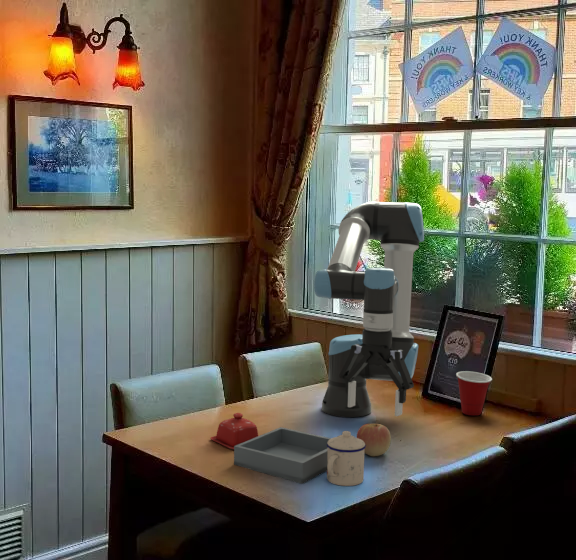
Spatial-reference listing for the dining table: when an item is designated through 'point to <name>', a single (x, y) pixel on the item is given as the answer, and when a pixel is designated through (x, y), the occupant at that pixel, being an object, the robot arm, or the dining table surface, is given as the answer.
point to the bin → (284, 454)
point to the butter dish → (235, 431)
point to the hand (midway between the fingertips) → (374, 410)
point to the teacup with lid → (345, 460)
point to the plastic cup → (472, 391)
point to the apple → (374, 438)
